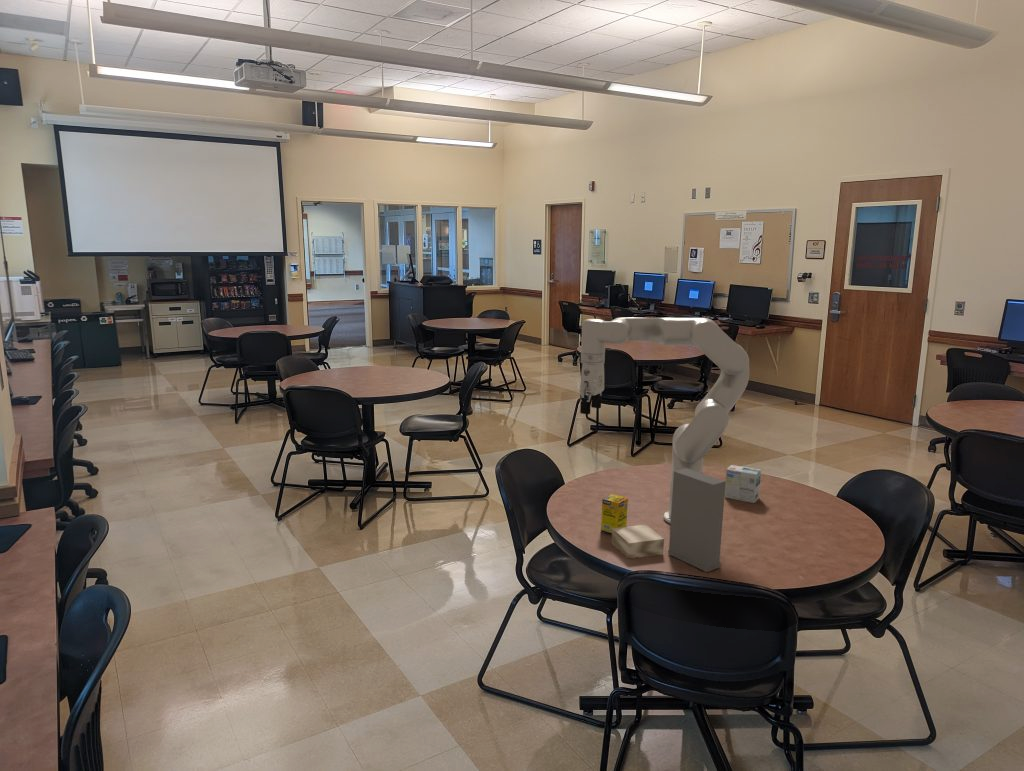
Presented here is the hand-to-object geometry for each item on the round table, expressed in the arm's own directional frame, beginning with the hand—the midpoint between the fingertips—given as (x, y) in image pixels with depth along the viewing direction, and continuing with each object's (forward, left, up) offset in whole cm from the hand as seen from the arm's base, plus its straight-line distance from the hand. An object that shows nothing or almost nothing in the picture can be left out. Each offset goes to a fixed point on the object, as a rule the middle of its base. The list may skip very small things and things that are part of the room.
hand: (590, 410), depth 223 cm
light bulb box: (-58, +4, -35) cm, 68 cm away
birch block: (-2, +31, -35) cm, 46 cm away
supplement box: (-1, +18, -35) cm, 39 cm away
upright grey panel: (-14, +43, -35) cm, 56 cm away
